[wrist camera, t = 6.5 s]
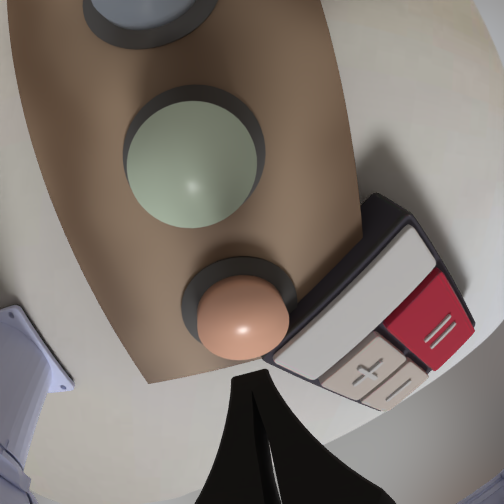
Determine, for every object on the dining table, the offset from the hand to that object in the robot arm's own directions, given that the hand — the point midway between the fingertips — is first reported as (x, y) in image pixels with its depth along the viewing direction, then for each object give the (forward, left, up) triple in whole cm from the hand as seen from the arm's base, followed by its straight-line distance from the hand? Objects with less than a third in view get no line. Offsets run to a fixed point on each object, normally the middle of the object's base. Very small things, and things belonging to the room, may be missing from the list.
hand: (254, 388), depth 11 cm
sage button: (0, +8, -4) cm, 9 cm away
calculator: (+9, -6, -8) cm, 13 cm away
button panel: (0, +8, -7) cm, 11 cm away
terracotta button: (0, 0, -5) cm, 5 cm away
